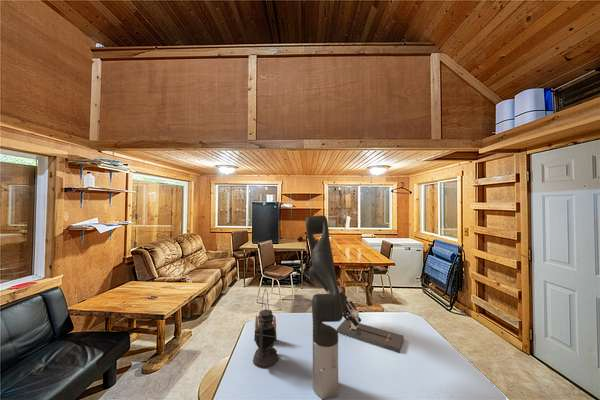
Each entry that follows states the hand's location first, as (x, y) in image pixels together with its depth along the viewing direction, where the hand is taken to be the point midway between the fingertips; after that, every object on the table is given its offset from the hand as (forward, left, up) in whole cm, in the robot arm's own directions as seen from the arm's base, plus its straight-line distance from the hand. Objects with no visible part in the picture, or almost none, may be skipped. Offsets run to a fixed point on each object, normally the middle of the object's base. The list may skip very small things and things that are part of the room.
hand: (358, 323), depth 119 cm
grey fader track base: (-4, -4, -5) cm, 7 cm away
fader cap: (+1, +1, -2) cm, 3 cm away
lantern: (-10, +48, -5) cm, 49 cm away
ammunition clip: (+4, +47, -5) cm, 48 cm away
